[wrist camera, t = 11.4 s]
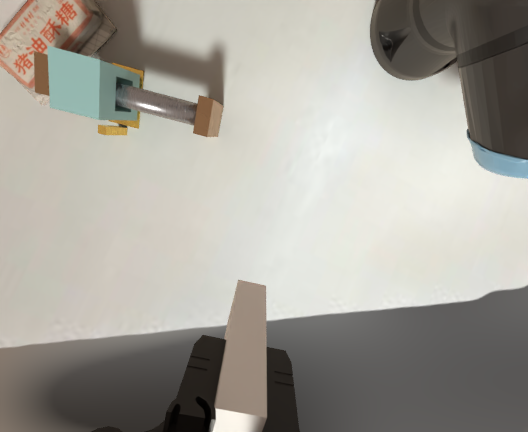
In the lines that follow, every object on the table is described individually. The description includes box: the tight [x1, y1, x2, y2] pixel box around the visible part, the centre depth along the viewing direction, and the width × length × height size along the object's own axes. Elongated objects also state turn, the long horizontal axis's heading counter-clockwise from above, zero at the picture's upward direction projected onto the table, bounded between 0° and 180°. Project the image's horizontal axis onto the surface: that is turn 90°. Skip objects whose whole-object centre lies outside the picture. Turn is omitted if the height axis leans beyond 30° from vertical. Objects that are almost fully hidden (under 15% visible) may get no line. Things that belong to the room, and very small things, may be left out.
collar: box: [47, 46, 140, 121], centre depth 35 cm, size 6×7×10 cm
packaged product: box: [0, 0, 117, 105], centre depth 38 cm, size 18×5×10 cm
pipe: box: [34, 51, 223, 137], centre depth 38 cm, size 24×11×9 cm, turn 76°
